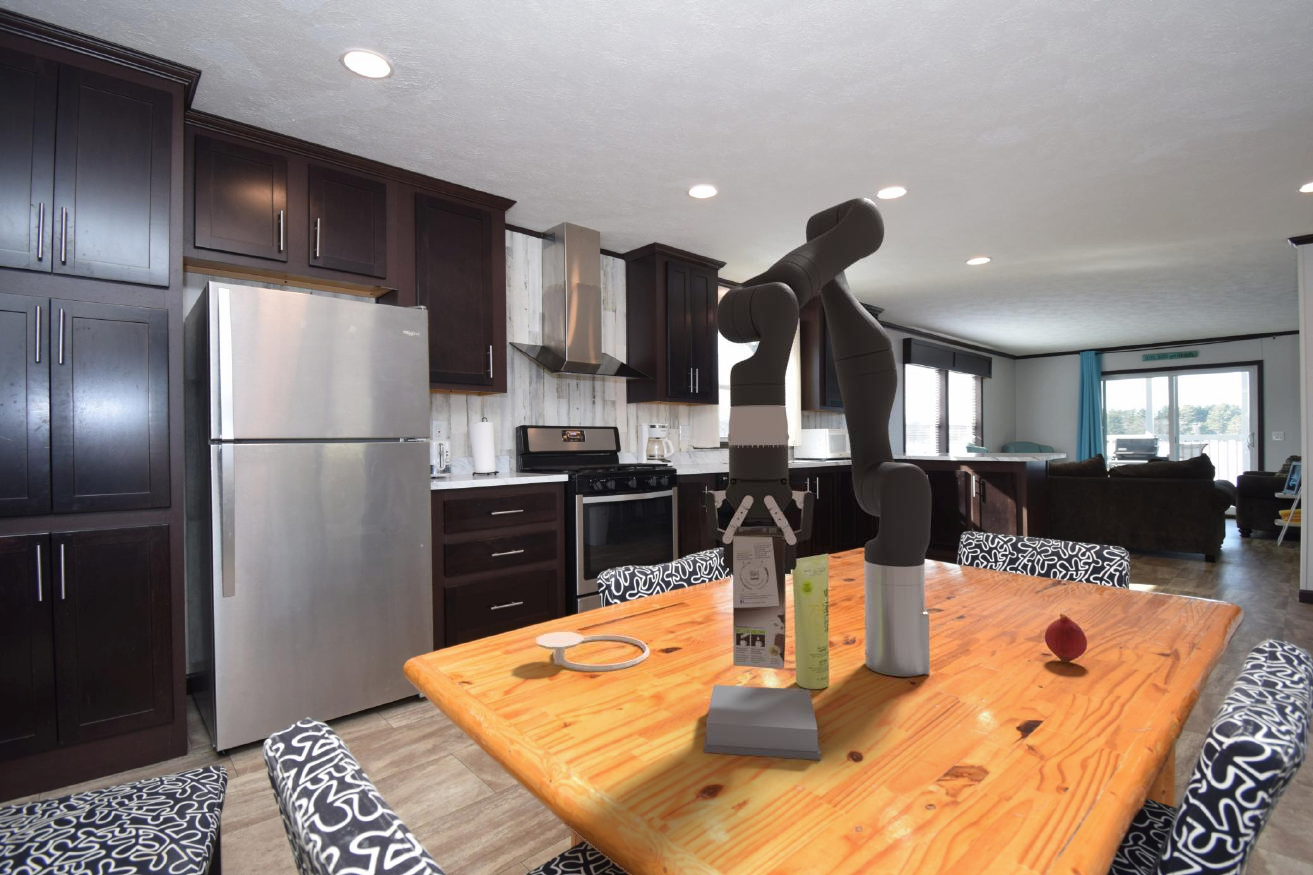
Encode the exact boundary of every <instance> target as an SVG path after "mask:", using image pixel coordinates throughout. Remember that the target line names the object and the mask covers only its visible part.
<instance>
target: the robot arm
mask: <svg viewBox="0 0 1313 875" xmlns="http://www.w3.org/2000/svg"><path fill="white" fill-rule="evenodd" d="M884 237H885V223H884V220H883V217H882V213H881V211H880V209H879V207H878V206H877V205H876V203H875V202H873V201H872V200H871V199H869V198H868V197H867V198H866V197H857V198H852V199H848V200H846V201H843V202H841V203H838V204H836V205H833V206H831V207H828V208H826V209H824V210H822V211H818V212H817V213H815V214H813V215H811V216H810V217H809V219H808V220H807V223H806V226H805V238H806V243H804V244H802V245H800V246H798V247H796V248H794V249H792V250H791V251H790V252H788V253H786V254H784V256H782V257H781V258H780V259H779V260H777V261H776V262H775V263H774V264H772V265H771V266H770V267H769V268H768V269H767V270H766V271H764V272H762V273H760V274H758V275H755V276H754V277H752V278H751V277H750V278H749V279H747V280H745V281H743V282H741V283H738V284H737V285H735V286H734V287H732V288H731V289H729V290H728V291H727V292H725V294H724V295H723V296H722V297H721V298H720V300H719V302H718V305H717V307H716V311H715V324H716V328H717V330H718V332H719V333H720V335H721V336H722V337H723V338H724V339H725V340H727V341H728V342H730V343H733V344H749V343H755V342H756V343H757V342H758V345H757V347H756V349H755V352H754V353H753V354H752V355H751V356H750V357H748V358H746V359H742V360H741V361H738V362H737V363H735V364H733V365H732V367H731V369H730V374H729V376H730V377H729V388H730V389H729V392H730V394H729V397H730V398H729V399H730V401H729V404H730V405H729V406H730V408H729V409H730V410H729V419H728V434H727V442H728V486H727V487H726V489H725V490H718V491H714V490H708V491H707V492H706V493H705V494H704V502H705V512H706V514H705V515H706V523H707V533H708V536H709V538H710V539H713V540H718V541H719V542H721V543H722V548H723V550H722V556H723V557H722V558H723V559H722V562H723V568H724V569H728V573H729V574H733V534H734V533H735V532H737V530H738V529H739V527H741V525H742V523H743V521H744V522H746V523H755V522H758V521H760V522H762V523H763V522H764V523H772V522H775V523H776V525H777V527H779V529H780V530H781V532H783V533H784V537H785V575H791V574H792V570H795V568H796V566H797V563H796V559H797V547H798V546H797V545H798V544H799V543H800V542H803V541H808V540H810V539H811V537H812V529H813V528H812V527H813V515H814V506H815V504H814V503H815V495H814V494H813V492H812V491H811V490H805V491H798V490H792V488H791V486H790V484H789V483H790V482H789V481H790V480H789V438H790V436H789V422H788V416H787V405H786V398H787V397H786V396H787V395H786V394H787V393H786V374H787V369H788V364H789V361H790V357H791V353H792V347H793V344H794V340H795V337H796V335H797V334H796V333H797V330H798V325H799V321H800V320H799V318H800V311H801V309H802V308H803V307H804V306H805V305H806V304H808V302H809V301H811V300H812V299H813V297H815V295H817V293H819V295H820V297H821V298H820V299H821V301H822V305H823V309H824V312H825V313H824V314H825V318H826V323H827V329H828V332H829V333H828V334H829V338H830V339H829V340H830V344H831V348H832V356H833V361H834V368H835V372H836V378H837V382H838V387H839V391H840V397H841V400H842V407H843V412H844V417H845V423H846V424H845V425H846V428H847V434H848V435H847V436H848V440H849V441H848V442H849V451H850V452H849V453H850V462H851V463H850V464H851V473H852V474H851V476H852V485H853V486H852V487H853V491H854V495H855V498H856V501H857V503H858V505H859V506H860V508H861V509H862V510H863V511H864V512H865V513H866V514H869V515H871V516H873V517H878V518H879V523H878V524H879V526H878V534H877V535H876V537H875V538H873V539H870V540H868V541H867V542H866V543H865V544H864V550H863V555H864V556H863V558H864V561H863V563H864V564H863V566H864V623H865V624H864V625H865V626H864V629H865V631H864V632H865V634H864V636H865V639H864V640H865V643H864V644H865V647H864V648H865V650H864V651H865V652H864V654H865V666H866V667H867V668H869V669H870V670H871V671H874V672H875V673H879V674H882V675H886V676H887V675H888V676H891V677H892V676H893V677H903V678H904V677H906V678H907V677H917V676H922V675H930V674H931V670H930V668H931V667H930V664H931V663H930V662H931V661H930V657H931V656H930V649H931V648H930V614H929V612H928V611H927V610H926V563H925V562H926V552H927V550H928V548H929V545H930V542H931V541H930V540H931V526H932V524H931V523H932V487H931V484H930V480H929V477H928V475H927V474H926V473H925V472H924V470H923V469H922V468H920V467H919V466H918V465H915V464H912V463H908V462H895V460H894V457H893V456H894V455H893V452H892V446H891V445H892V444H891V441H890V433H889V432H890V430H889V429H890V428H889V424H890V419H891V413H892V410H893V406H894V402H895V399H896V394H897V387H898V370H897V364H896V359H895V354H894V349H893V344H892V340H891V337H890V335H889V333H888V332H887V331H886V329H885V328H884V327H883V326H882V325H881V324H880V322H879V321H878V320H877V319H876V318H875V317H874V316H872V314H871V313H869V311H868V310H866V308H865V307H864V306H863V305H862V304H861V302H859V301H858V299H857V298H856V297H855V295H854V293H853V292H852V290H851V287H850V284H849V282H848V280H847V277H846V273H845V270H847V269H848V268H849V267H851V266H853V265H854V264H855V263H857V262H858V261H860V260H863V259H865V258H867V257H869V256H871V255H873V254H874V253H876V252H877V251H878V250H879V249H880V247H881V246H882V244H883V242H884ZM725 499H726V500H727V502H728V503H729V504H730V506H731V507H732V508H733V510H734V511H735V513H734V515H733V517H732V519H731V521H730V522H729V524H728V526H727V528H726V530H724V529H721V528H720V527H719V517H718V509H719V508H721V506H722V504H723V501H724V500H725ZM792 499H793V500H795V503H796V506H797V508H798V509H801V515H800V516H801V517H800V526H799V528H800V529H798V530H795V531H793V529H792V527H791V525H790V523H789V522H788V520H787V518H786V516H785V515H784V511H785V509H786V507H787V506H788V505H789V504H790V502H791V501H792Z"/></svg>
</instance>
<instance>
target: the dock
mask: <svg viewBox="0 0 1313 875" xmlns="http://www.w3.org/2000/svg"><path fill="white" fill-rule="evenodd" d="M705 726H706V732H705V739H704V743H703V744H704V745H703V753H706V754H708V753H709V754H721V755H723V754H725V755H737V756H738V755H739V756H752V757H753V756H754V757H755V756H756V757H767V758H781V759H783V758H784V759H798V760H800V759H801V760H810V761H811V760H812V761H813V760H814V761H815V760H816V761H822V760H821V759H822V756H821V755H822V753H821V748H820V747H821V746H820V743H819V738H818V737H819V734H818V725H817V720H816V716H815V709H814V704H813V700H812V694H811V689H807V688H804V689H803V688H783V687H782V688H781V687H763V686H761V687H760V686H744V685H743V686H742V685H726V684H725V685H722V684H721V685H720V684H713V686H712V692H711V697H710V702H709V706H708V713H707V719H706V725H705Z"/></svg>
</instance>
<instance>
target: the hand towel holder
mask: <svg viewBox="0 0 1313 875" xmlns="http://www.w3.org/2000/svg"><path fill="white" fill-rule="evenodd" d="M598 641H614V642H615V641H616V642H623V643H629V644H632V645H635V646H638V647H639V648H641V649H642V650H643V654H641V655H640V656H638V657H636V658H633V659H630V660H627V661H624V662H618V663H617V662H616V663H610V664H608V663H607V664H585V663H577V662H574V661H573V662H572V661H569V660H567V659H566V658H565V650H566V649H567V650H568V649H573V648H575V647H577V646H579V645H580V644H582V642H583V643H588V642H598ZM535 642H536V644H537V645H538V647H540V648H542V649H546V650H553V652H552V658H553V663H554V665H555V666H562V667H564V668H565V669H566V668H567V669H570V670H575V671H583V672H608V671H609V672H610V671H617V670H623V669H627V668H630V667H634V666H637V665H639V664H640V663H643V662H644V661H645V660H647V658H648V657H649V656H650V652H651V651H650V649H649V647H648V645H647V643H645V642H643V641H642V640H639V639H637V638H635V637H631V636H626V635H617V634H596V635H595V634H593V635H586V636H584V635H582V634H580V633H575V632H572V631H555V632H550V633H544V634H542V635H540V636H538V637H536V638H535Z"/></svg>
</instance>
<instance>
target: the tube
mask: <svg viewBox="0 0 1313 875" xmlns="http://www.w3.org/2000/svg"><path fill="white" fill-rule="evenodd" d="M829 561H830V556H829V553H825V554H824V553H823V554H820V555H813V556H807V557H806V556H805V557H800V558H796V563H797V566H796V568H795V570H791V574H792V588H793V590H792V591H793V610H794V612H793V614H794V615H793V616H794V644H795V647H794V649H795V682H796V684H797V685H798V687H799V686H800V687H801V688H804V689H806V690H821V689H825V688H827V687H829V685H830V642H829V640H830V638H829V636H830V634H829V632H830V631H829V628H830V627H829V624H830V622H829V621H830V619H829V618H830V617H829V616H830V614H829V610H830V609H829V608H830V607H829V603H830V602H829V591H830V590H829V581H830V580H829V576H830V574H829V573H830V572H829V570H830V569H829V568H830V567H829V566H830V565H829V564H830V563H829Z"/></svg>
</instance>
